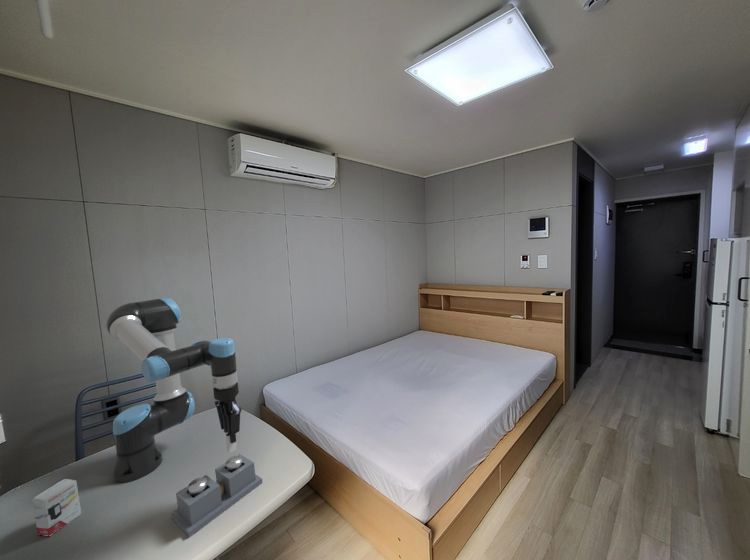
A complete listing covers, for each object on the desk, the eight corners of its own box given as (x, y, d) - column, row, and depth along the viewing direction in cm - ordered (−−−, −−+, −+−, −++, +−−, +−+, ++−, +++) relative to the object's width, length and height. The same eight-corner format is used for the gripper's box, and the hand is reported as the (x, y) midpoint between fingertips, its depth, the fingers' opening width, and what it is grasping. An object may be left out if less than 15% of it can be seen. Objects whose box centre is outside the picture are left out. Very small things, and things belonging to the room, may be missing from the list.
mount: (171, 518, 93) (168, 494, 92) (243, 470, 113) (241, 450, 112) (189, 537, 86) (186, 512, 86) (262, 482, 106) (260, 461, 105)
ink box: (49, 537, 89) (42, 501, 88) (37, 535, 90) (30, 499, 89) (82, 513, 97) (77, 479, 96) (70, 511, 98) (65, 477, 97)
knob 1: (188, 509, 94) (185, 485, 93) (204, 498, 98) (201, 475, 97) (195, 516, 91) (192, 492, 90) (212, 504, 95) (209, 481, 94)
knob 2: (225, 483, 104) (223, 462, 103) (239, 474, 108) (236, 453, 107) (233, 489, 101) (230, 467, 100) (247, 480, 105) (244, 458, 104)
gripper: (204, 384, 102) (211, 449, 104) (224, 393, 94) (232, 463, 97) (226, 376, 108) (232, 438, 110) (246, 384, 100) (253, 450, 103)
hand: (232, 450), depth 103 cm, fingers closed
